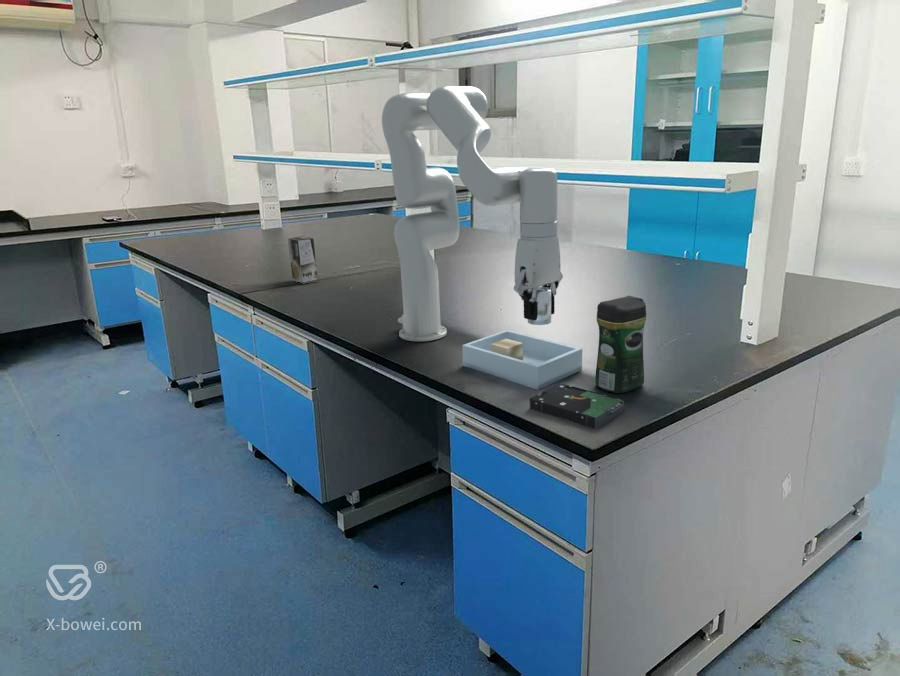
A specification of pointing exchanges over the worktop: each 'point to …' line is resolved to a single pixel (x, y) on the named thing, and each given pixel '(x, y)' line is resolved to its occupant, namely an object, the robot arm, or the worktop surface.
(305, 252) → the coffee box
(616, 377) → the coffee jar
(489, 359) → the tray
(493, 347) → the wooden cube
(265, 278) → the worktop surface
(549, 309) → the aluminium cylinder
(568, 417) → the disk drive
